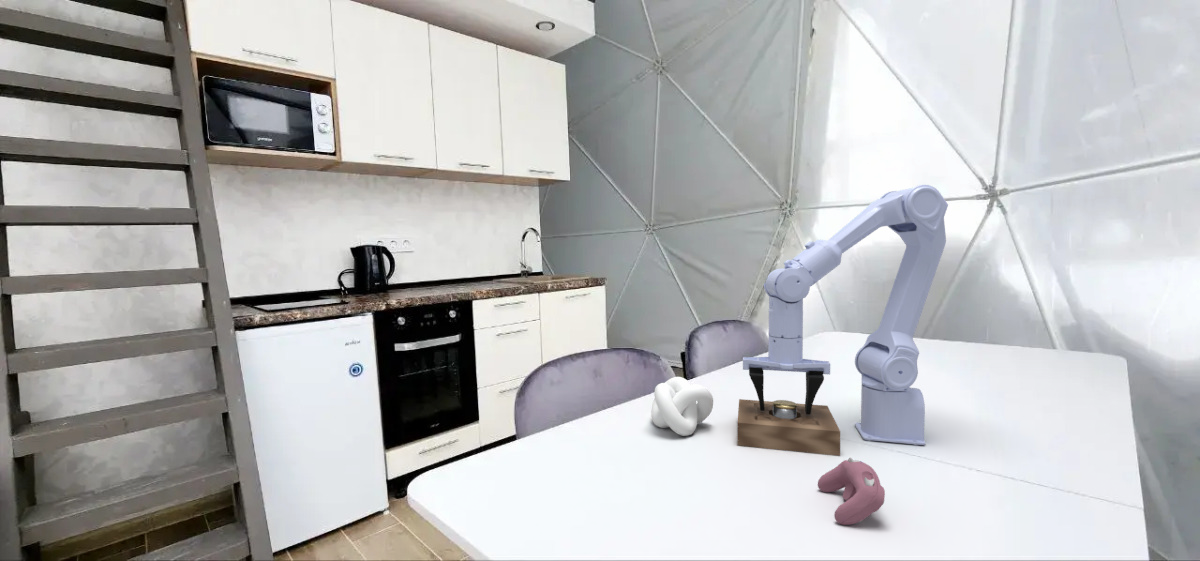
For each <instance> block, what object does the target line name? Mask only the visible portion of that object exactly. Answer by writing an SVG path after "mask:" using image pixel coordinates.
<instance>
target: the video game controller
mask: <svg viewBox="0 0 1200 561" xmlns="http://www.w3.org/2000/svg"><path fill="white" fill-rule="evenodd" d="M817 488H818V490H820V491H821V492H823V493H831V492H837V491H839V490H842V489H843V493H842V498H843V499H844V500H845V501H844V502H843V503H841V504H840V505H838V507H837V508H836V509H835V511H834V515H833V516H834V517H833V518H834V520H835V521H836V522H837V524H839V525H841V526H842V525H843V526H844V525H845V526H849V525H855V524H858V523H860V522H862V521H864V520H865V519H867V518H868V517H869V516H870V515H872V514H873V513H876V512H877V511H879V509H881V507H882V506H883V505H884V503H885V496H886V493H885V492H886V490H885V488H884V487H883V486H882V484H881V481H880V478H879V476H878V474H877V473H876V470H875V469H874V468H873V467H872V466H870V465H869V464H867V463H865V462H863V461H861V460H859V459H853V458H852V457H849V458H848V459H846V460H842V461H841V462H840V463H838V464H837V466H836V467H834V468H832V469H831V470H829V471H827V472H825V473H824V474H822V475H821V476H820V477H819V479H818V481H817Z"/></svg>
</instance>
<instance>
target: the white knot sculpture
mask: <svg viewBox="0 0 1200 561" xmlns="http://www.w3.org/2000/svg"><path fill="white" fill-rule="evenodd" d="M713 406H714V397H713V395H712V393H711V391H710V390H709V388H707V387H706V386H704V385H700V384H698V383H697V384H696V383H694V384H691V382H690V381H689V380H687V379H686V378H684V377H682V376H674V377H670V378H669V379H668V380H666V381H665V382H661V383H658V384H657V385H656V386H655V388H654V398H653V402H652V406H651V411H650V416H651V420H652V422H653V424H654V425H655V426H656V427H658V428H660V429H666V428H670V429H671V430H672V431H673V432H675V433H676V434H677V435H680V436H683V437H687V436H690V435H691V436H692V434H694V432H695V430H696V429H697V426H698V424H700V423H702V422H704V421H706V419H707V418H709V416H710V415H711V413H712V411H713V409H714V408H713Z"/></svg>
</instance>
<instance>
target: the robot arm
mask: <svg viewBox="0 0 1200 561" xmlns="http://www.w3.org/2000/svg"><path fill="white" fill-rule="evenodd" d="M948 207H949V204H948V203H947V200H945V198H944V196H943V195H942V194H941V192H940V191H939V190H938V189H937V187H935V186H933V185H929V184H919V185H916V186H914V187H911V188H905V189H901V190H893V191H888V192H886V193H884V194H882V196H880V198H877V199H876V200H874V201H872V202H871V203H870V204H868V205H867V207H865V208H864V209H863V210H861V211H860V213H858V214H857V215H856V216H855V217H854V218H852V219H851V220H850V221H849V222H848V223H846V225H844V226H843V227H842V228H841V229H840V230H838V231H837V232H836V233H835V234H834V235H832V236H831V237H830V238H829V239H827V240H825V239H817V240H815V241H811V240H810V241H808V242H806V244H804V247H805V249H803V250H802V251H801V252H800V253H798V254H797V255H796V256H794V257H793V258H791V259H787V260H785V261H784V262H783V265H784V268H783V267H782V268H776V269H774V270H772V271H771V272H770V273H769V274H768V275H767V279H765V282H764V283H763V288H764V291H765V293H766V295H767V296H768V348H767V349H768V351H767V352H768V353H767V354H768V355H767V356H759V357H758V356H755V357H754V356H750V357H748V356H747V357H746V356H743V357H742V370H745V371H748V375H749V377H750V378H749V379H750V380H751V382H752V384H753V386H754V389H755V392H756V395H757V399H758V401H759V403H760V411H764V401H765V399H764V398H765V397H764V379H765V378H764V377H765V376H764V371H777V372H778V371H779V372H795V373H796V372H797V373H805V398H804V399H805V402H804V404H805V412H806V414H809V415H810V414H811V408H812V405H814V404H813V403H814V401H815V399H816V396H817V394H818V391H819V389H820V388H821V386H822V384H823V382H824V380H825V376H824V375H831V362H830V361H827V360H817V359H816V360H815V359H808V358H803V355H804V354H803V345H804V344H803V343H804V342H803V341H804V340H803V339H804V338H803V334H804V332H803V329H804V299H806V297H807V296H808V295H809V293H810V288H811V287H812V286H814V285H815V284H817V283H818V282H819V281H820V280H821V279H822V278H824V277H825V276H827V275H828V274H829V273H831V271H833V270H835V269H836V268H838V267H839V266H840V265H841V262H842V256H843V255H842V254H844V253H845V252H846V251H848V250H850V249H851V248H852V247H854V246H855V245H857V244H858V243H859V242H861V241H863V239H865V238H867V237H868V236H870V235H871V234H872V233H874V232H875V231H877V230H878V229H879V228H882V227H888V228H889V229H890V230H892V231H893V232H895V233H896V234H897V235H898V236H899V237H900V239H901V240H902V242H903V243H904V244H905V249H904V252H903V256H902V259H901V262H900V265H899V268H898V271H897V273H896V276H895V279H894V282H893V284H892V288H891V291H890V293H889V297H888V300H887V302H886V306H885V308H884V311H883V313H882V316H881V320H880V323H879V326H878V328H877V329H876V330H874V331H873V332H872V333H871V334H869V335H868V336H867V338H866V340H865V343H864V345H863V346H862V347H860V348H859V350H858V351H857V353H856V354H855V357H854V365H855V369H856V370H857V372H859V374H860V375H861V392H860V394H861V397H860V398H861V399H860V400H861V401H860V403H861V404H860V422H854V426H855V428H856V429H857V431H858V433H859V435H860V436H861V438H862V439H863V440H865V441H875V442H885V443H896V444H910V445H920V446H925V445H926V441H925V422H926V421H925V417H926V410H925V408H926V406H925V399H924V395H923V392H922V390H921V389H920V388H917V387H911V386H912V385H914V384H915V382H916V380H917V378H918V374H919V368H918V358H919V356H920V351H919V349H918V347H917V344H916V343H915V340H914V336H915V332H916V330H917V327H918V324H919V323H920V322H919V321H920V319H921V316H922V314H923V310H924V306H925V304H926V301H927V298H928V295H929V293H930V289H931V287H932V285H933V284H932V283H933V282H934V278H935V276H936V273H937V269H938V266H939V264H940V261H941V258H942V255H943V253H944V249H945V247H946V243H947V237H946V236H947V235H946V226H945V215H946V212H947V210H948Z"/></svg>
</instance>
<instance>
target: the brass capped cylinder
mask: <svg viewBox="0 0 1200 561" xmlns="http://www.w3.org/2000/svg"><path fill="white" fill-rule="evenodd" d="M772 402H773V416H775V417H778V418H785V419H795V418H797V404H796V402H795V401H792V400H787V399H777V400H773V401H772Z"/></svg>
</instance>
